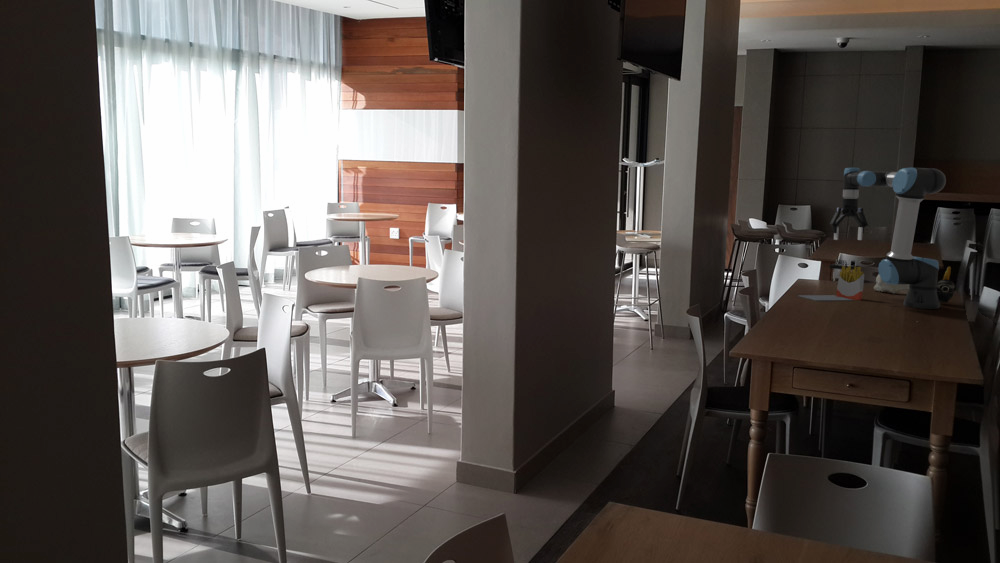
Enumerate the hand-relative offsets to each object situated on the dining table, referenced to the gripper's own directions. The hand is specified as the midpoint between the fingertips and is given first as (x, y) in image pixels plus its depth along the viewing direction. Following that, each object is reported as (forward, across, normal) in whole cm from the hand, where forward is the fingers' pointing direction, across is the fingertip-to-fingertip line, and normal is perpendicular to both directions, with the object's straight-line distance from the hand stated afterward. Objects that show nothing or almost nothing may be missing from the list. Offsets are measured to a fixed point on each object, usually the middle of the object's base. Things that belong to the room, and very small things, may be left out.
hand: (847, 239), depth 428 cm
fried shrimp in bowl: (+28, -27, +39) cm, 55 cm away
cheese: (+28, -17, +2) cm, 33 cm away
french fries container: (+30, +12, +22) cm, 39 cm away
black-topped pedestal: (+26, -23, -36) cm, 51 cm away
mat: (+27, +25, +22) cm, 43 cm away
